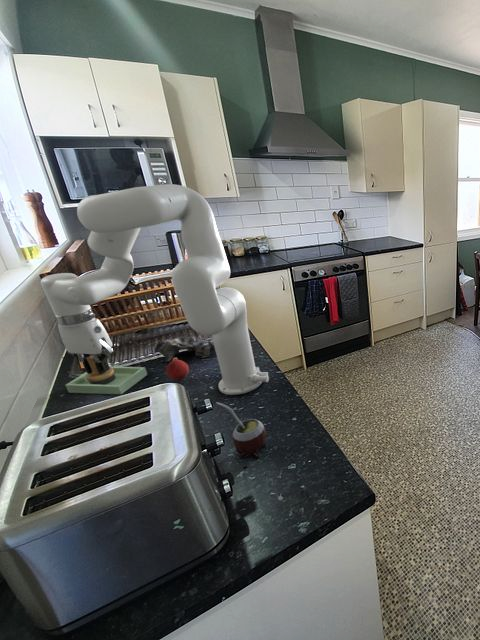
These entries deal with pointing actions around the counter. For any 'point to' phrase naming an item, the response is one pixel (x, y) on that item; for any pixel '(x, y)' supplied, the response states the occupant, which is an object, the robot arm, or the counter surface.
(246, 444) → the mate gourd
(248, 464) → the counter surface
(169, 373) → the onion
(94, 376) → the brush
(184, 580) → the counter surface
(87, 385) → the tray
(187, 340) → the foil
